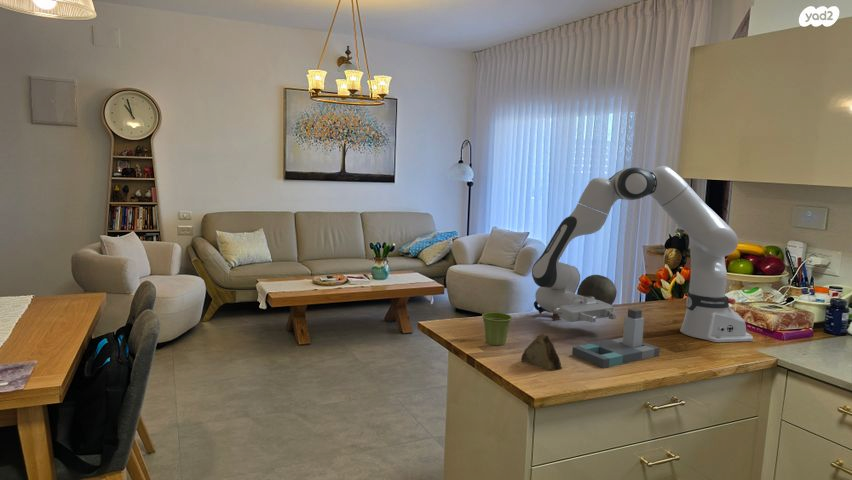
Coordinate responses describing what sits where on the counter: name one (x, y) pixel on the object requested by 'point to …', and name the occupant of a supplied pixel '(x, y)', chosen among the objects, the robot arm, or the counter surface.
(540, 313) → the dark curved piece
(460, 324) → the counter surface
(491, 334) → the plant pot
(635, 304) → the counter surface
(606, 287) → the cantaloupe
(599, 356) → the panel
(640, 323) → the plug
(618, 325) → the counter surface
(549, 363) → the rock
